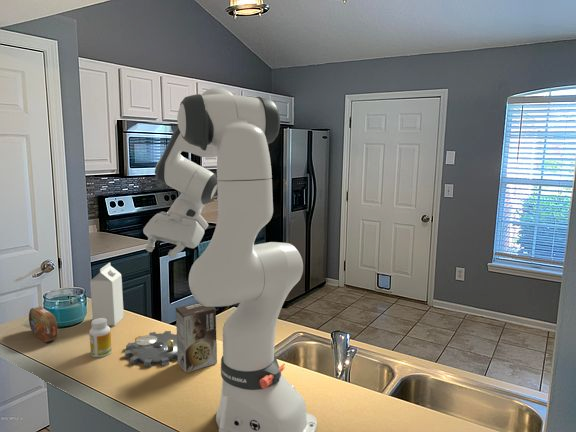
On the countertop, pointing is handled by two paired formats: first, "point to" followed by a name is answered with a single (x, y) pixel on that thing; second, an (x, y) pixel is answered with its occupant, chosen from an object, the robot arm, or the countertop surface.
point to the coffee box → (196, 336)
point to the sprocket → (153, 349)
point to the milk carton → (107, 295)
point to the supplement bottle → (100, 338)
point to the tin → (43, 324)
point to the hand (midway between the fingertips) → (159, 253)
